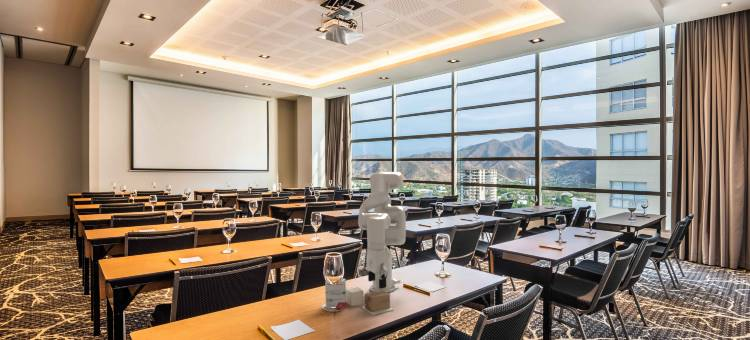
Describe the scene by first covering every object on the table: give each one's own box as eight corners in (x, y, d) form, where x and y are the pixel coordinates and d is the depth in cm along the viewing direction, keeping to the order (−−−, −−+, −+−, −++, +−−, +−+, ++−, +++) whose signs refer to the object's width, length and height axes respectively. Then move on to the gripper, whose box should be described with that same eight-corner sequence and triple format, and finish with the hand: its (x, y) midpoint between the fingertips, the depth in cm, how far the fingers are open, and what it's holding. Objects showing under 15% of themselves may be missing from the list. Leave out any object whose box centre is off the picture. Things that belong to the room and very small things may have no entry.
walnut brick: (364, 307, 171) (364, 293, 170) (382, 303, 175) (382, 290, 175) (371, 312, 165) (371, 297, 165) (389, 307, 170) (389, 293, 170)
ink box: (346, 304, 177) (345, 277, 176) (345, 308, 172) (344, 281, 171) (327, 304, 177) (326, 278, 176) (325, 308, 172) (325, 281, 171)
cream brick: (357, 299, 182) (357, 286, 182) (363, 303, 177) (363, 290, 177) (345, 302, 180) (345, 289, 179) (351, 306, 174) (351, 292, 174)
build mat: (381, 303, 177) (381, 302, 177) (393, 310, 168) (393, 309, 168) (361, 307, 172) (361, 306, 172) (372, 315, 163) (372, 314, 163)
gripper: (359, 242, 176) (360, 279, 177) (378, 251, 161) (379, 292, 162) (374, 239, 179) (375, 276, 181) (394, 248, 164) (395, 288, 166)
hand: (377, 284), depth 171 cm, fingers open, 9 cm apart
